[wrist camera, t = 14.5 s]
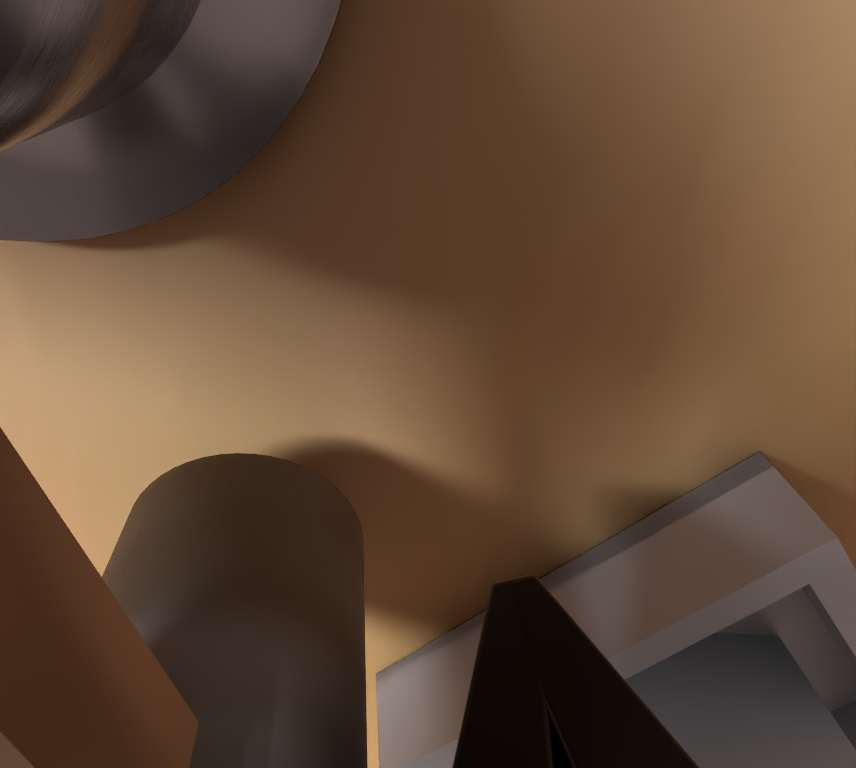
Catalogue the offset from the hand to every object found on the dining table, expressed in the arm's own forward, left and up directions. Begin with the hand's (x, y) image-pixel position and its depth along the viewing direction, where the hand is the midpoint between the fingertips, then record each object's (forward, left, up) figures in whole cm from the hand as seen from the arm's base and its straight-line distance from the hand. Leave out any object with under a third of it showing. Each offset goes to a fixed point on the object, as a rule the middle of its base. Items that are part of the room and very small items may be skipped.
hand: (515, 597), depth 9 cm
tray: (+1, +9, -4) cm, 10 cm away
